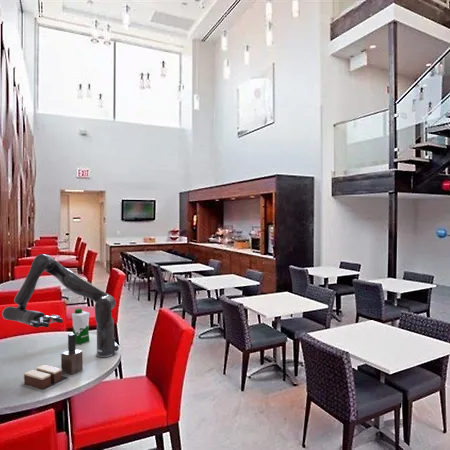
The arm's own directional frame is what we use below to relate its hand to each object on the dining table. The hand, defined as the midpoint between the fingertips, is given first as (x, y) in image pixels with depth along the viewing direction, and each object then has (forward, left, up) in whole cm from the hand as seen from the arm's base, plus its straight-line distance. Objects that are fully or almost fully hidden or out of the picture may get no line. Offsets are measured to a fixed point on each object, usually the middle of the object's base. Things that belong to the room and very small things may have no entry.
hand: (55, 323), depth 190 cm
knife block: (-7, +9, -24) cm, 26 cm away
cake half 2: (+3, +13, -23) cm, 27 cm away
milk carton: (-16, -36, -24) cm, 46 cm away
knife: (-7, +9, -23) cm, 26 cm away
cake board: (+6, +15, -24) cm, 29 cm away
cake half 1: (+9, +17, -23) cm, 30 cm away
